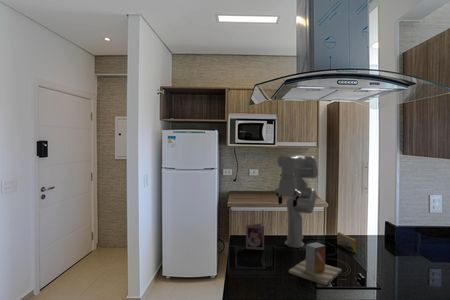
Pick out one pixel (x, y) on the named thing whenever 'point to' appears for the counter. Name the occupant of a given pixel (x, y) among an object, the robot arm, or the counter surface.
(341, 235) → the candy box
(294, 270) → the birch board
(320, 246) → the small box
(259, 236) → the greeting card
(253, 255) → the counter surface
